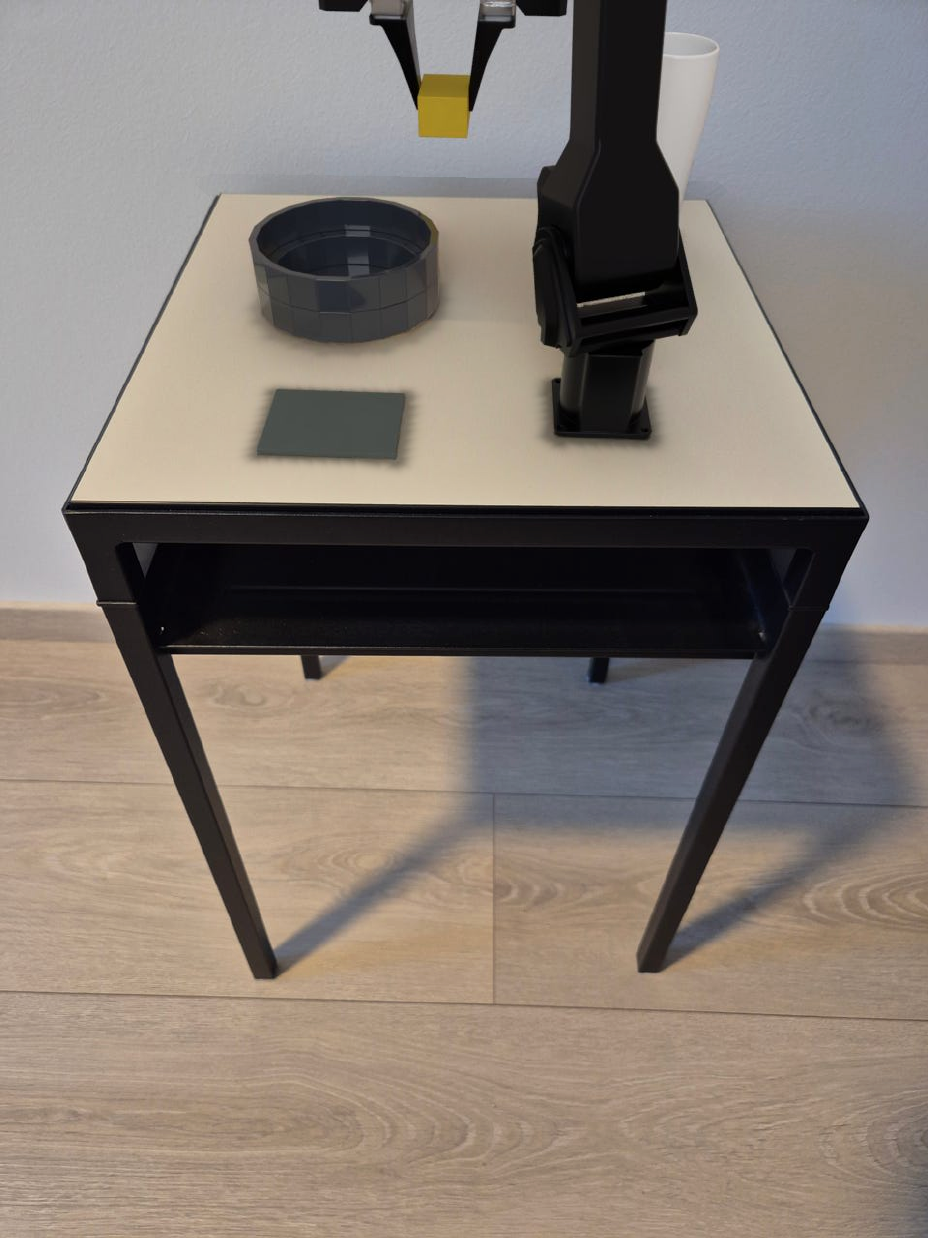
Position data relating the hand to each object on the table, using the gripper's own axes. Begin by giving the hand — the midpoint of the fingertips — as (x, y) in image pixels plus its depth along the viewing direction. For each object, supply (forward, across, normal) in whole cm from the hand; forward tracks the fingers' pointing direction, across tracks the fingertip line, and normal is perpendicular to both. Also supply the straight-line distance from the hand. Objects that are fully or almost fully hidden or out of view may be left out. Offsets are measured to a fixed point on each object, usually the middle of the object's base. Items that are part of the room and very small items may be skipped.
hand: (445, 109), depth 72 cm
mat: (+10, +6, +31) cm, 33 cm away
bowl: (+10, +7, +15) cm, 19 cm away
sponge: (+1, 0, 0) cm, 1 cm away
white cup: (+10, -18, +1) cm, 21 cm away
